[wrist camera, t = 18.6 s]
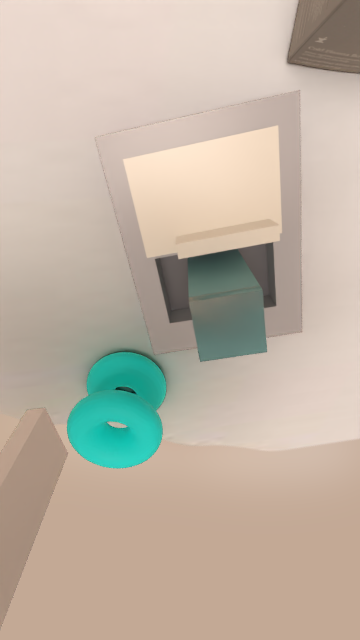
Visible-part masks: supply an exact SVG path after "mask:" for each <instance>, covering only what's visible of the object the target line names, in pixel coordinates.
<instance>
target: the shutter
mask: <svg viewBox="0 0 360 640" xmlns="http://www.w3.org/2000/svg"><path fill="white" fill-rule="evenodd" d="M123 162H124V166H125V170H126V175H127V179H128V183H129V187H130V191H131V195H132V199H133V203H134V207H135V211H136V216H137V220H138V224H139V228H140V232H141V236H142V240H143V244H144V248H145V252H146V256H147V258H150V257H156V256H161V255H166V254H172V253H177V254H178V259H183V258H188V257H194V256H199V255H205V254H210V253H216V252H221V251H227V250H232V249H238V248H243V247H249V246H254V245H260V244H265V243H271V242H276V241H280V233H282V215H281V187H280V159H279V131H278V125H277V126H272V127H268V128H263V129H259V130H254V131H250V132H245V133H240V134H236V135H231V136H227V137H222V138H218V139H213V140H209V141H204V142H200V143H195V144H190V145H186V146H181V147H177V148H172V149H168V150H163V151H159V152H154V153H150V154H145V155H140V156H136V157H131V158H127V159H123Z"/></svg>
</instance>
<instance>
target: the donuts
mask: <svg viewBox="0 0 360 640" xmlns="http://www.w3.org/2000/svg"><path fill="white" fill-rule="evenodd" d="M117 387H129V388H131V389H133V390H134V391H135V392H136V394H133V393H130V392H127V391H122V390H115V388H117ZM87 392H88V396H87V397H85V398H83V399H82V400H81V401H79V402H78V403H77V404H76V406H75V407H74V408H73V409H72V411H71V413H70V415H69V418H68V422H67V434H68V438H69V441H70V443H71V444H72V446H73V448H74V449H75V450H76V451H77V452H78V453H79V454H80V455H81V456H82V457H83V458H85V459H86V460H88V461H90V462H92V463H94V464H97V465H100V466H103V467H109V468H127V467H132V466H135V465H138V464H140V463H142V462H144V461H146V460H148V459H149V458H150V457H151V456H152V455H153V454H154V453H155V452H156V450H157V449H158V447H159V445H160V443H161V440H162V434H163V428H162V423H161V419H160V417H159V415H158V413H157V412H156V410H157V409H158V408H159V407H160V405H161V404H162V402H163V400H164V398H165V395H166V381H165V377H164V375H163V373H162V371H161V370H160V368H159V367H158V366H157V365H156V364H155V363H154V362H153V361H151V360H150V359H148V358H147V357H145V356H142V355H140V354H137V353H132V352H118V353H113V354H110V355H107V356H105V357H103V358H101V359H100V360H99V361H98V362H96V363H95V364H94V366H93V367H92V368H91V370H90V372H89V374H88V377H87ZM108 421H113V422H119V423H122V424H125V425H126V426H128V427H126V428H115V427H112V426H110V425H109V424H108V423H107V422H108Z"/></svg>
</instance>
